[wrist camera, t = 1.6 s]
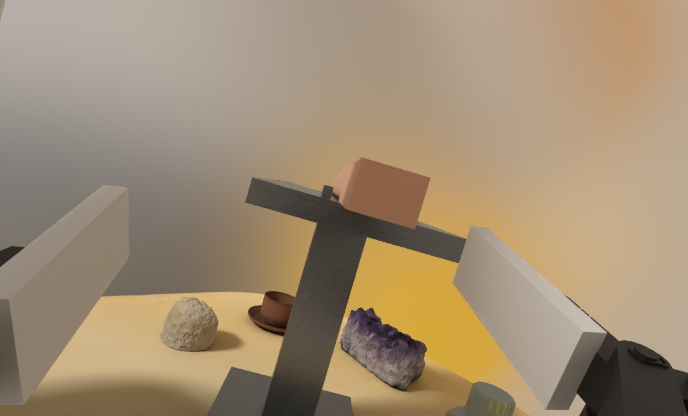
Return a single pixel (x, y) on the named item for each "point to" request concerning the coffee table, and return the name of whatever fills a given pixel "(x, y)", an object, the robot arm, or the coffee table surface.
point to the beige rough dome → (190, 325)
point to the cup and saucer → (273, 311)
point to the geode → (383, 349)
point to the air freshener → (485, 402)
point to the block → (381, 192)
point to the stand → (318, 301)
